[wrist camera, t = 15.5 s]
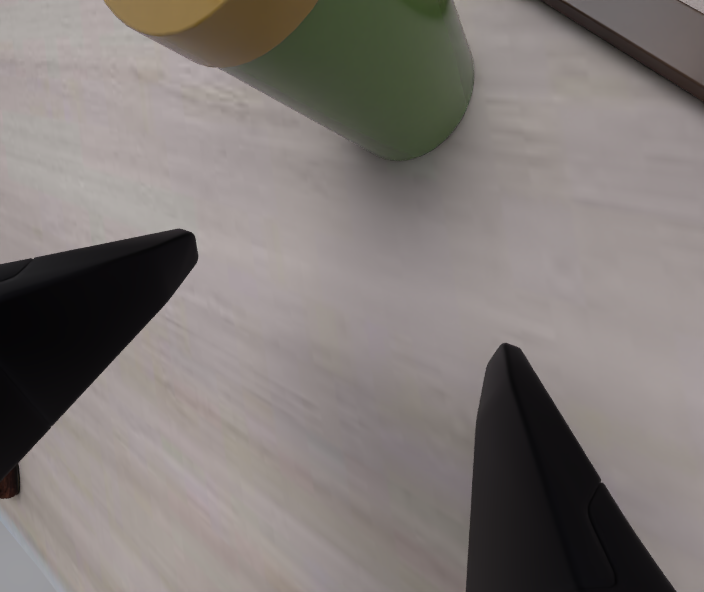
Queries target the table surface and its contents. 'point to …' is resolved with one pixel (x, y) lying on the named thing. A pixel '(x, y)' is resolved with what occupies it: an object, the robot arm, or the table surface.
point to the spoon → (648, 34)
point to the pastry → (10, 484)
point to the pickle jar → (331, 60)
